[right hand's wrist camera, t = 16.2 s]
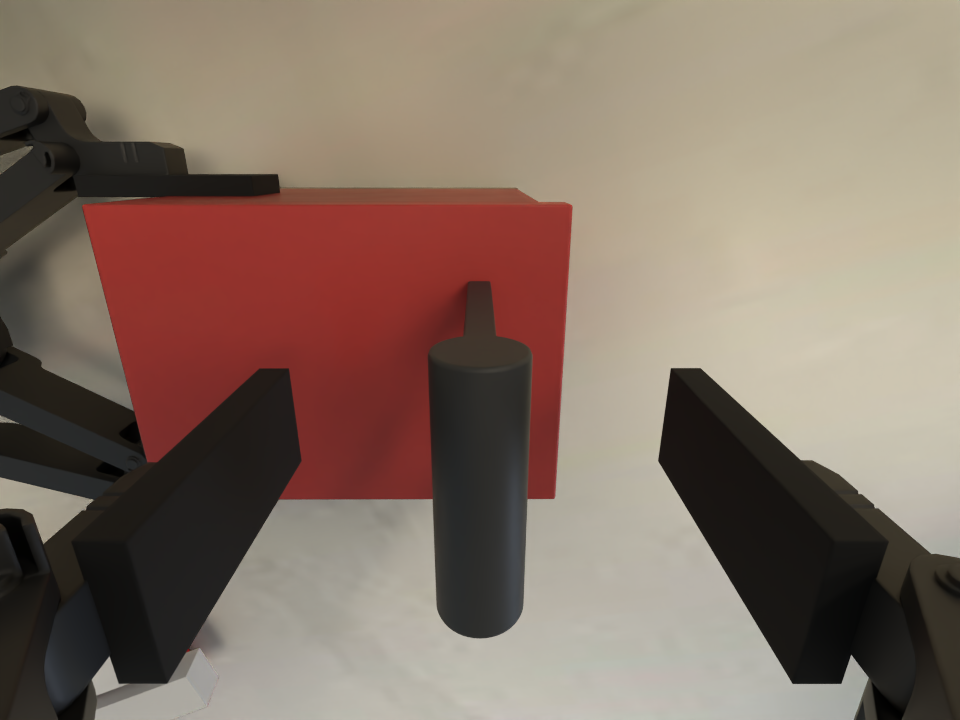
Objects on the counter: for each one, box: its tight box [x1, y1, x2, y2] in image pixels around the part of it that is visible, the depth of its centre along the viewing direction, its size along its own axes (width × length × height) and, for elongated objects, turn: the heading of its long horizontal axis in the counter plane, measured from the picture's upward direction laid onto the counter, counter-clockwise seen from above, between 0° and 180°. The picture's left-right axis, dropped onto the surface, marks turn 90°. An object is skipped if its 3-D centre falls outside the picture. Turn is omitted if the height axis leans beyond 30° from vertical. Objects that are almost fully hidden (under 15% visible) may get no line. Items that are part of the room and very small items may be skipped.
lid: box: [82, 202, 572, 638], centre depth 14 cm, size 14×10×9 cm
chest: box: [113, 188, 538, 202], centre depth 23 cm, size 14×10×11 cm
